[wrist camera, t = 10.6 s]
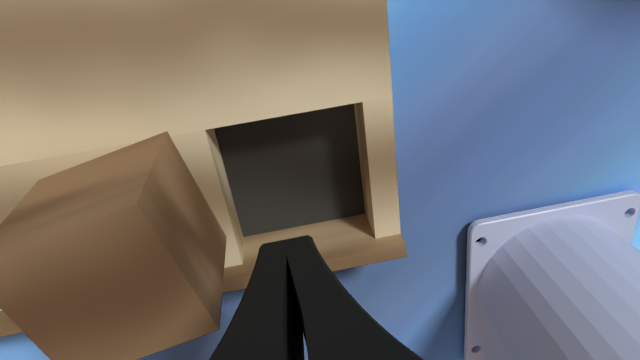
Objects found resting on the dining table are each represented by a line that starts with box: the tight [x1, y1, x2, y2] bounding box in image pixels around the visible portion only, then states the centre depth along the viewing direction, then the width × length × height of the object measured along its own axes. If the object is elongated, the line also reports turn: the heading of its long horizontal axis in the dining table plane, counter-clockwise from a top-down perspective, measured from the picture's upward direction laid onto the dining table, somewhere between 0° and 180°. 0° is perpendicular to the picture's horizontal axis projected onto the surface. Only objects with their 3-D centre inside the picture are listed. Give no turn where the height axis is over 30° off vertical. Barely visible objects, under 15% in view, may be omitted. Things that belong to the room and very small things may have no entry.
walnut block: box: [0, 131, 227, 360], centre depth 14 cm, size 4×4×4 cm
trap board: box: [0, 0, 407, 337], centre depth 15 cm, size 12×20×4 cm, turn 98°
